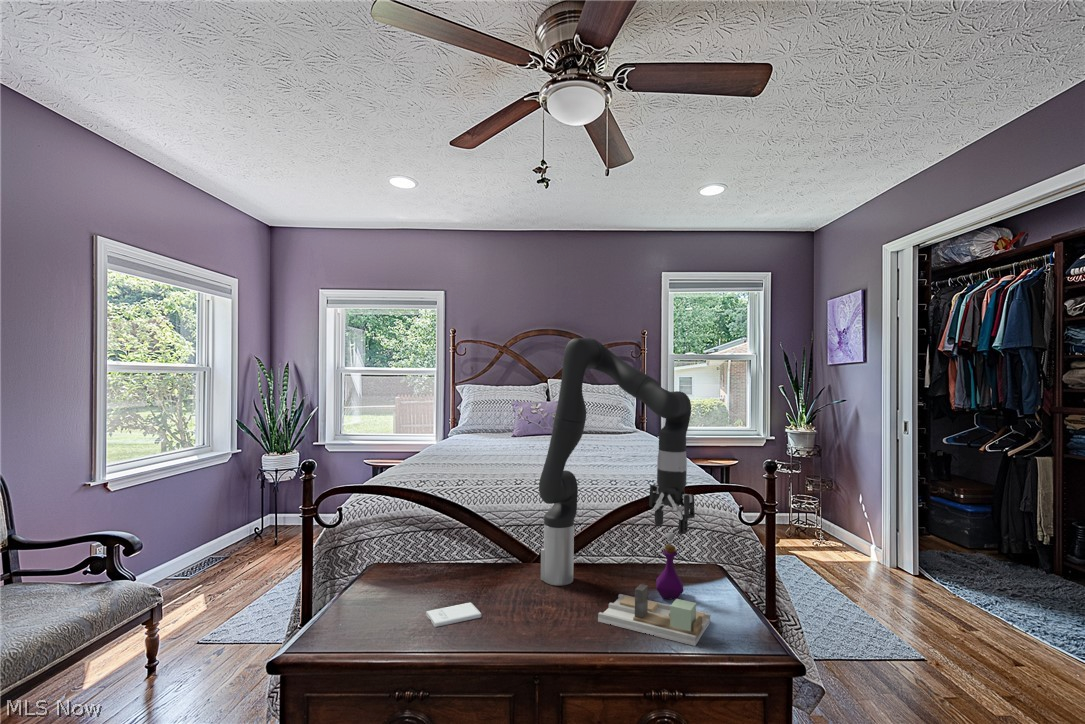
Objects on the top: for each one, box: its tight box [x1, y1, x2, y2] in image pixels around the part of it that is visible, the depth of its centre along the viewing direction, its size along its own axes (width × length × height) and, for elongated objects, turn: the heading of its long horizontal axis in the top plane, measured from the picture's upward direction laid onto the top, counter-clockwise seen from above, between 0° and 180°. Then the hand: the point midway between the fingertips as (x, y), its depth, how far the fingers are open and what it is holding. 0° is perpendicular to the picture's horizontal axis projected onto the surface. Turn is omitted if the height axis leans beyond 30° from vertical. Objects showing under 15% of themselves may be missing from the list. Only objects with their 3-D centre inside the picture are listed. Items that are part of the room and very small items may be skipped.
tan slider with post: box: [633, 583, 702, 638], centre depth 141 cm, size 16×5×8 cm, turn 60°
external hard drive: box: [425, 602, 482, 628], centre depth 148 cm, size 2×8×12 cm
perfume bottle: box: [655, 532, 684, 601], centre depth 163 cm, size 8×8×18 cm
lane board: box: [597, 593, 711, 647], centre depth 146 cm, size 25×15×2 cm, turn 60°
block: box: [670, 598, 697, 631], centre depth 139 cm, size 5×5×5 cm
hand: (670, 529), depth 149 cm, fingers open, 8 cm apart
